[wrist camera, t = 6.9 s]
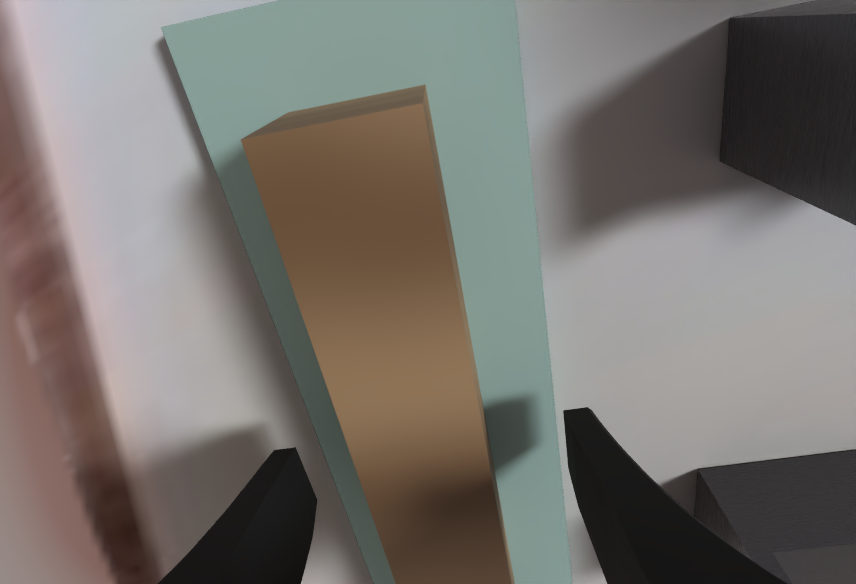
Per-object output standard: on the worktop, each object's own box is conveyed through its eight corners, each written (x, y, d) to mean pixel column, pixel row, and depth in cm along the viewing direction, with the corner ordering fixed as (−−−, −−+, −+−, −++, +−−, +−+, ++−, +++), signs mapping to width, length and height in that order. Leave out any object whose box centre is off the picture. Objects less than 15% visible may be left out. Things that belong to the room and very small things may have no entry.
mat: (572, 612, 20) (576, 628, 19) (397, 629, 21) (397, 645, 20) (506, -48, 10) (509, -52, 10) (174, 27, 11) (160, 27, 10)
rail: (518, 602, 19) (532, 697, 16) (437, 610, 19) (437, 705, 16) (425, 84, 11) (422, 103, 8) (287, 112, 11) (240, 139, 8)
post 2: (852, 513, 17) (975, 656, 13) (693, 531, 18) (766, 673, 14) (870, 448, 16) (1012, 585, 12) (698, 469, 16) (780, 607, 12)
